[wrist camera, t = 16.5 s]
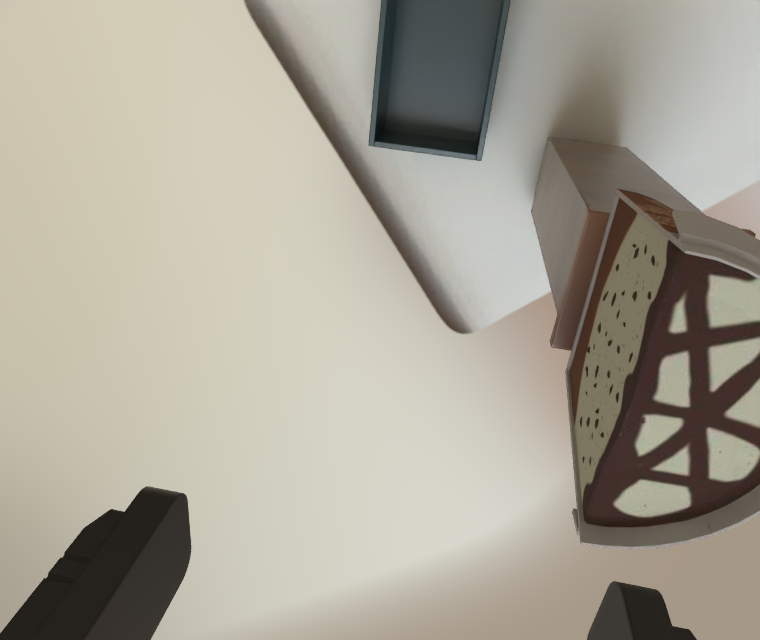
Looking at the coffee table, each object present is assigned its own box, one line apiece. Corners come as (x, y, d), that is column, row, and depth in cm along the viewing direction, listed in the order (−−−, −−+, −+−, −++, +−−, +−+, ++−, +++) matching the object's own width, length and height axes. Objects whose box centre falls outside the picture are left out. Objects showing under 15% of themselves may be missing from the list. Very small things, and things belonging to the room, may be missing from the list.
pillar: (627, 147, 44) (734, 238, 25) (604, 222, 47) (686, 354, 28) (547, 137, 45) (595, 219, 26) (530, 211, 47) (561, 334, 29)
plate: (750, 229, 25) (756, 234, 24) (693, 365, 28) (697, 371, 28) (586, 206, 26) (588, 210, 25) (549, 341, 29) (550, 347, 28)
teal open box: (519, -67, 39) (524, -79, 34) (481, 146, 46) (481, 161, 41) (400, -78, 40) (389, -92, 35) (380, 133, 46) (368, 145, 42)
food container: (684, 419, 29) (758, 593, 20) (558, 396, 29) (576, 554, 21) (788, 172, 23) (957, 267, 14) (626, 152, 24) (692, 231, 15)
